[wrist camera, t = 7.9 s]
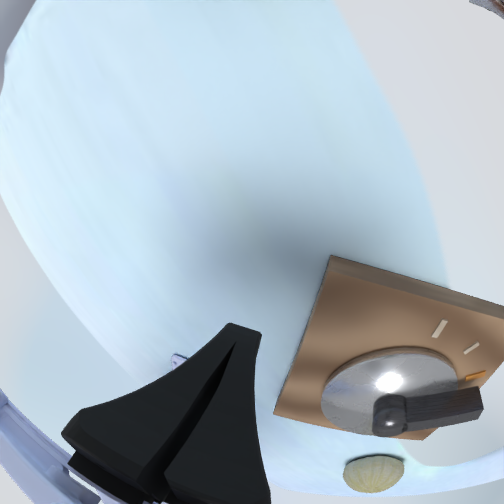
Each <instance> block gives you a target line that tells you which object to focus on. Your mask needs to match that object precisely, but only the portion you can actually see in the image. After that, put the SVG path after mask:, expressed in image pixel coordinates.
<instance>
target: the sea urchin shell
mask: <svg viewBox="0 0 504 504" xmlns="http://www.w3.org/2000/svg"><path fill="white" fill-rule="evenodd" d="M403 474H404V465H403V463H402V462H401V461H400V460H398V459H395V458H391V457H388V456H373V457H366V458H362V459H358V460H355V461H352V462H351V463H349V464H348V465H346V467H345V469H344V473H343V478H344V480H345V482H346V484H347V485H348V486H349V487H351V488H352V489H353V490H355V491H358V492H365V493H377V492H381V491H384V490H386V489H388V488H390V487H392V486H393V485H394V484H396V483H397V482H398V481H399V480H400V478H401V477H402V476H403Z"/></svg>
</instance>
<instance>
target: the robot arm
mask: <svg viewBox="0 0 504 504" xmlns="http://www.w3.org/2000/svg"><path fill="white" fill-rule="evenodd" d="M261 336H262V334H261V333H260V332H258V331H255V330H252V329H249V328H245V327H242V326H239V325H236V324H233V323H228V324H226V326H225V327H224V328H223V329H222V330H221V331H220V332H219V333H218V334H217V335H216V336H215V337H214V338H213V339H212V340H210V341H209V342H208V343H207V344H206V345H205V346H204V347H202V348H201V349H200V350H199V351H198V352H196V353H195V354H194V355H193V356H192V357H190V358H189V359H188V360H187V359H184V358H182V357H179V356H177V355H173V356H172V357H171V363H172V371H171V372H169V373H167V374H166V375H164V376H163V377H161V378H159V379H157V380H156V381H154V382H152V383H150V384H148V385H146V386H144V387H142V388H140V389H138V390H136V391H134V392H132V393H129V394H127V395H124V396H122V397H119V398H117V399H114V400H111V401H109V402H105V403H102V404H98V405H95V406H92V407H88V408H84V409H81V410H80V411H79V412H78V413H77V414H76V415H75V416H74V417H73V418H72V419H71V420H70V421H69V423H68V424H67V425H66V427H65V428H64V430H63V431H62V432H61V435H62V437H63V438H64V439H65V440H66V441H67V442H68V443H69V444H70V445H71V446H72V447H73V448H74V449H75V450H76V452H75V453H74V454H73V456H71V455H70V454H69V453H67V452H66V451H65V450H64V449H62V448H61V447H60V446H58V445H57V444H56V443H55V442H53V441H52V440H51V439H50V438H49V437H48V436H46V435H45V434H44V433H43V432H42V431H41V430H39V429H38V428H37V427H36V426H35V425H34V424H33V423H32V422H31V421H30V420H29V419H27V418H26V417H25V416H24V415H23V414H22V413H21V412H20V411H19V410H18V409H17V408H16V407H15V406H14V405H13V404H12V403H11V401H10V400H9V399H8V397H7V396H6V395H5V394H4V393H3V391H2V390H1V389H0V464H1V465H2V466H3V468H4V469H5V471H6V472H7V473H8V474H9V476H10V477H11V478H12V479H13V480H14V482H15V483H16V484H17V485H18V486H19V488H20V489H21V490H22V491H23V492H24V493H25V494H26V495H27V497H28V498H29V499H30V500H31V501H32V502H33V503H34V504H98V503H99V502H100V500H102V501H103V503H104V504H271V497H270V496H271V495H270V494H271V493H270V489H269V485H268V482H267V478H266V474H265V470H264V466H263V461H262V457H261V451H260V445H259V439H258V433H257V425H256V414H255V395H254V380H255V363H256V357H257V353H258V349H259V345H260V340H261ZM68 469H69V470H70V471H71V472H73V473H74V474H75V475H77V476H78V477H80V478H81V479H82V480H84V481H85V482H87V483H88V484H90V485H91V486H93V487H94V488H95V489H96V490H97V492H98V494H99V496H100V497H99V496H98V495H96V494H95V493H93V492H92V491H91V490H89V489H87V488H86V487H85V486H83V485H81V484H80V483H79V482H77V481H76V480H74V479H73V478H71V477H70V475H69V471H68Z"/></svg>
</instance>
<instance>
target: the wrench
mask: <svg viewBox="0 0 504 504" xmlns="http://www.w3.org/2000/svg"><path fill="white" fill-rule="evenodd" d="M469 2H470V3H473V4H476V5H478V6H481V7H484V8H486V9H487V10H489V11H493V12H494V13H496V14H497V15H499V16H500V17H502V18H503V19H504V0H470V1H469Z"/></svg>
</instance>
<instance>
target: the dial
mask: <svg viewBox="0 0 504 504" xmlns="http://www.w3.org/2000/svg"><path fill="white" fill-rule="evenodd" d="M321 409H322V412H323V414H324V415H325V417H326V418H327V419H328V420H329V421H330V422H331V423H332V424H334V425H336V426H337V427H339V428H341V429H343V430H346V431H349V432H353V433H357V434H362V435H376V436H379V437H393V436H397V435H400V434H402V433H404V432H409V431H417V430H425V429H431V428H437V427H443V426H448V425H454V424H458V423H463V422H468V421H472V420H476V419H478V418H479V416H480V414H481V413H482V411H483V409H484V408H483V403H482V399H481V395H480V390H479V386H474V387H469V388H464V389H460V390H458V381H457V376H456V372H455V369H454V366H453V365H452V363H451V362H450V361H449V360H448V359H447V358H446V357H444V356H443V355H441V354H439V353H437V352H434V351H432V350H428V349H423V348H414V347H402V348H391V349H384V350H380V351H376V352H372V353H369V354H366V355H363V356H360V357H358V358H355V359H353V360H351V361H350V362H348V363H346V364H344V365H343V366H341V367H340V368H338V369H337V370H336V371H335V372H334V373H333V374H332V375H331V376H330V377H329V378H328V380H327V381H326V383H325V385H324V388H323V393H322V398H321Z"/></svg>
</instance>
